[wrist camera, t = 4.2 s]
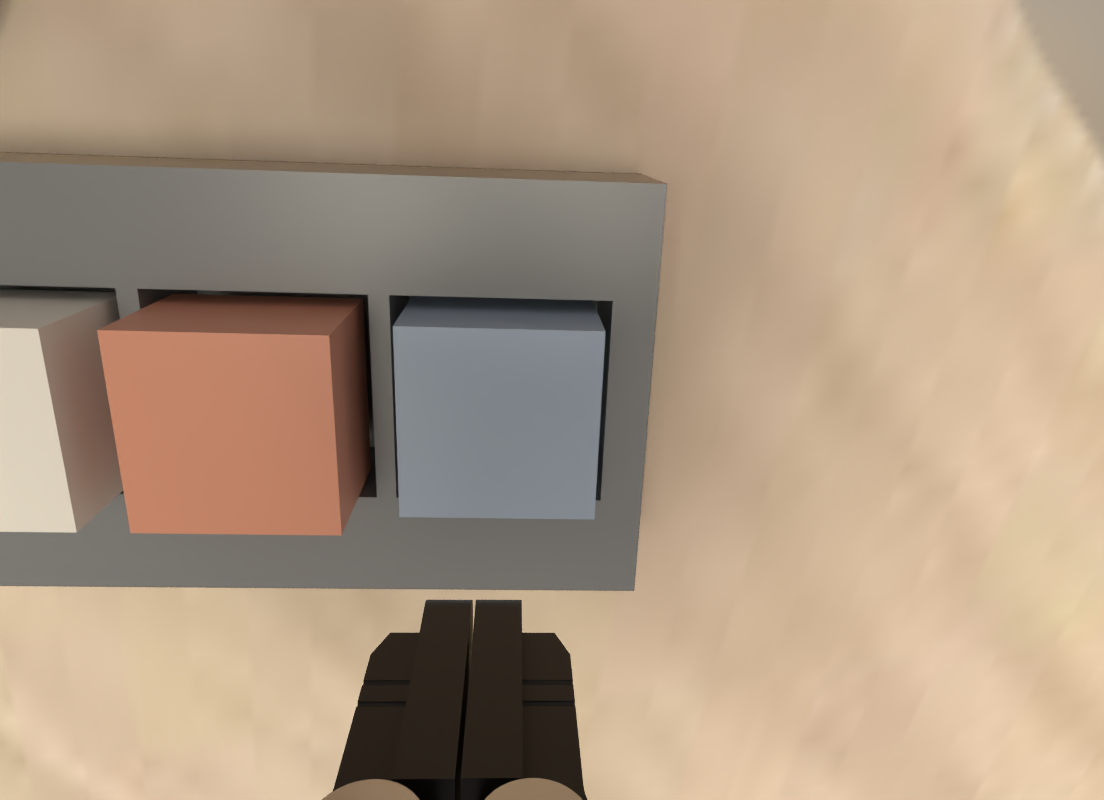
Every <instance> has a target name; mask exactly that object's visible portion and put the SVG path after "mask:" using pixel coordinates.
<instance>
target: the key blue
mask: <svg viewBox="0 0 1104 800" xmlns="http://www.w3.org/2000/svg"><path fill="white" fill-rule="evenodd" d="M605 332H606V331H605V329H604V327H603V324H602V322H601V319H600V317H599V315H598V312H597V310H596V307H595V305H594V303H593V300H557V299H519V298H480V297H441V296H412V297H411V299H410V300H409V302H408V303H407V305H406V307H405V308H404V310H403V311H402V313H401V314H400V316H399V317H398V319H397V321H396V322H395V324H394V325H393V346H394V374H395V403H396V432H397V461H398V490H399V517H430V518H513V519H595V502H596V485H597V468H598V451H599V434H600V417H601V400H602V383H603V366H604V349H605Z"/></svg>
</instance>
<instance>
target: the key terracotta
mask: <svg viewBox="0 0 1104 800" xmlns="http://www.w3.org/2000/svg"><path fill="white" fill-rule="evenodd" d="M97 333H98V339H99V346H100V352H101V358H102V364H103V370H104V376H105V382H106V388H107V394H108V400H109V406H110V412H111V418H112V424H113V430H114V436H115V443H116V449H117V455H118V461H119V467H120V473H121V479H122V485H123V491H124V497H125V503H126V509H127V515H128V521H129V527H130V533H157V534H248V535H339V536H342V534H343V531H344V529H345V527H346V524H347V522H348V520H349V518H350V515H351V513H352V511H353V508H354V506H355V504H356V502H357V499H358V497H359V495H360V492H361V490H362V488H363V486H364V483H365V481H366V479H367V476H368V474H369V472H370V470H371V457H370V436H369V414H368V393H367V372H366V351H365V329H364V308H363V299H360V298H321V297H282V296H243V295H204V294H172V295H169V296H167V297H165V298H163V299H161V300H159V301H157V302H155V303H153V304H151V305H149V306H146V307H144V308H142V309H140V310H138V311H136V312H134V313H132V314H130V315H128V316H126V317H123V318H121V319H119V320H117V321H115V322H113V323H111V324H109V325H107V326H105V327H103V328H100V329H98V330H97Z"/></svg>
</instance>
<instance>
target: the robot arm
mask: <svg viewBox="0 0 1104 800" xmlns="http://www.w3.org/2000/svg"><path fill="white" fill-rule="evenodd" d="M322 800H587V798H586V795H585V792H584V786H583V778H582V768H581V758H580V748H579V738H578V728H577V718H576V708H575V699H574V689H573V679H572V669H571V659H570V654H569V652H568V651H567V650H566V648H565V647H564V645H563V644H562V643H561V641H560V640H559V639H558V637H557V636H556V634H555V633H522V605H521V600H476V606H475V617H474V629H473V601H472V600H426V603H425V607H424V613H423V618H422V623H421V628H420V633H390V634H389V635H388V636H387V637H386V638H385V639H384V640H383V642H382V643H381V644H380V645H379V646H378V647H377V648H376V649H375V650H374V652H373V653H372V654H371V655H370V659H369V663H368V666H367V670H366V674H365V677H364V684H363V685H362V688H361V692H360V695H359V699H358V706H357V707H356V710H355V713H354V717H353V721H352V724H351V728H350V732H349V735H348V739H347V743H346V746H345V750H344V753H343V757H342V761H341V764H340V768H339V772H338V775H337V779H336V782H335V786H334V789H333V792H331V793H330V794H329V795H327V796H326V797H325V798H323V799H322Z"/></svg>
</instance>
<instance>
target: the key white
mask: <svg viewBox="0 0 1104 800" xmlns="http://www.w3.org/2000/svg"><path fill="white" fill-rule="evenodd" d="M119 319H120V316H119V310H118V303H117V297H116V292H87V291H48V290H9V289H0V532H65V533H77V532H78V531H79V530H80V529H81V528H82V527H84V526H85V525H86V524H87V523H88V522H89V521H90V520H91V519H92V518H93V517H94V516H96V515H97V514H98V513H99V512H100V511H101V510H102V509H103V508H104V507H105V506H107V505H108V504H109V503H110V502H111V501H112V500H113V499H114V498H115V497H116V496H117V495H119V494H120V493H121V492H122V491H123V485H122V479H121V473H120V467H119V461H118V455H117V449H116V443H115V436H114V430H113V424H112V418H111V412H110V406H109V400H108V394H107V388H106V382H105V376H104V370H103V364H102V358H101V352H100V346H99V339H98V333H97V330H98V329H100V328H103V327H105V326H107V325H109V324H111V323H113V322H115V321H117V320H119Z"/></svg>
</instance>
